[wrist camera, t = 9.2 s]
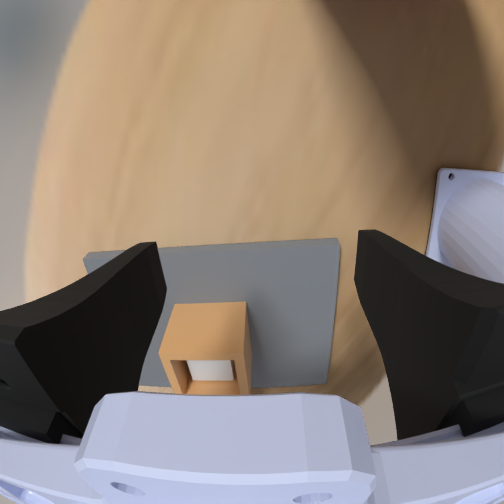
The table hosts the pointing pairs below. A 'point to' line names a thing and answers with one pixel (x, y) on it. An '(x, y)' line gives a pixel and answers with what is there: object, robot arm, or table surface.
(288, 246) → the duct board
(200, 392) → the tan square tube
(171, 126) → the table surface
